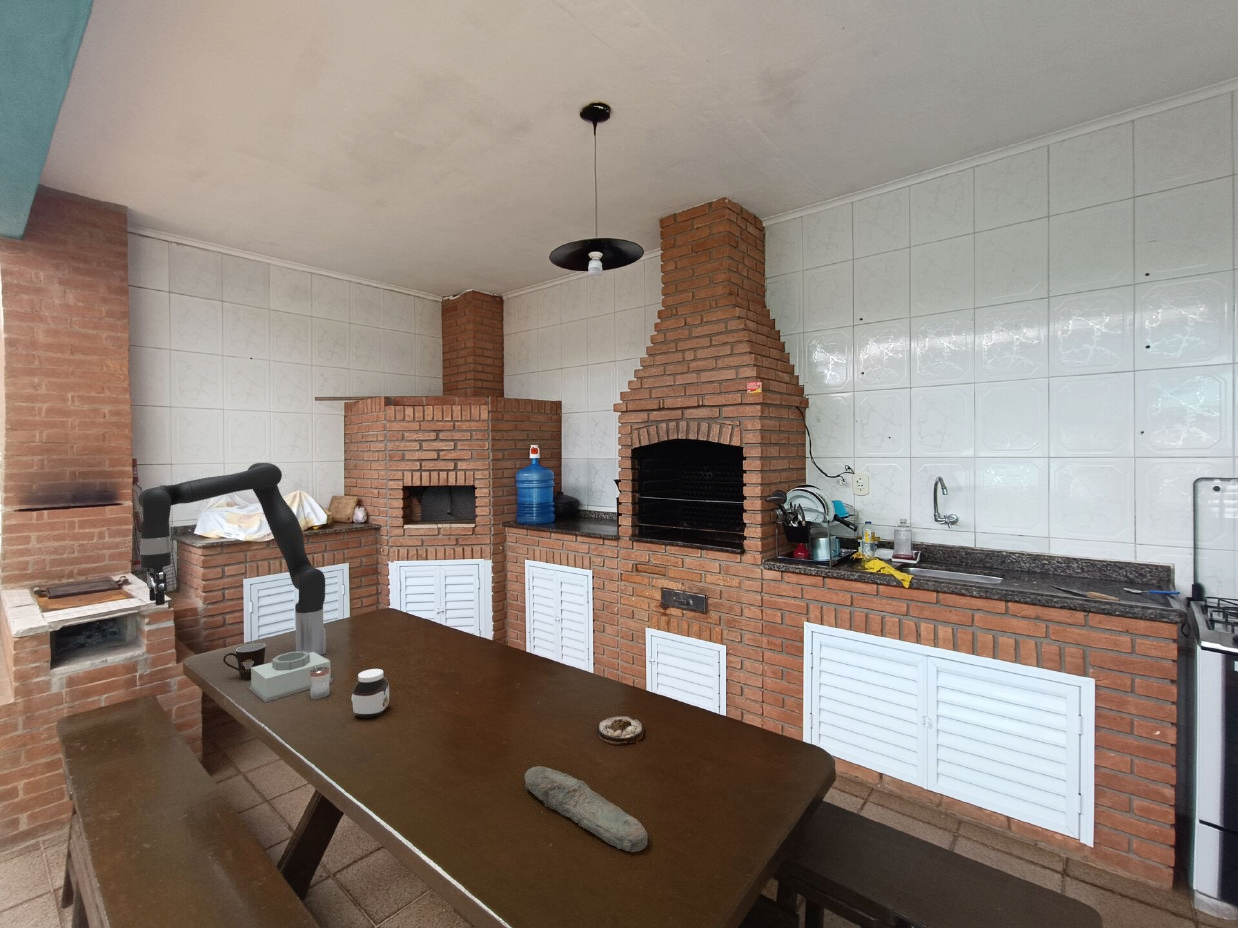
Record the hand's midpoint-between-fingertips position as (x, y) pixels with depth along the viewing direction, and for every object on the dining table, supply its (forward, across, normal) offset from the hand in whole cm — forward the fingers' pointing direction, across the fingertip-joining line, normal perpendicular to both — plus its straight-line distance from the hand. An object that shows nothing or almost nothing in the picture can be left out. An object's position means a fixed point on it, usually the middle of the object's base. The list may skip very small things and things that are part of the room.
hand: (157, 602), depth 180 cm
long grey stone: (+30, -143, -45) cm, 153 cm away
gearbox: (+29, -25, -30) cm, 49 cm away
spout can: (+29, -40, -33) cm, 59 cm away
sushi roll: (+30, -128, -76) cm, 152 cm away
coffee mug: (+30, -5, -23) cm, 38 cm away
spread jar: (+30, -62, -38) cm, 78 cm away
